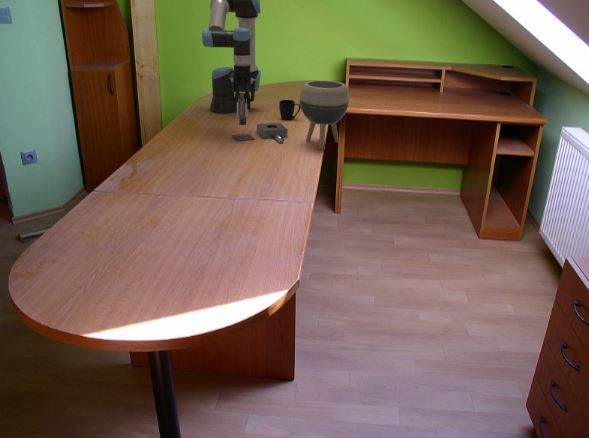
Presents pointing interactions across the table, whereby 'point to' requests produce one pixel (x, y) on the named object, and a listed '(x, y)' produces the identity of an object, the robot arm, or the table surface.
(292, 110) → the mug
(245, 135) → the mat
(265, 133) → the block
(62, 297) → the table surface
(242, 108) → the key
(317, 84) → the planter
